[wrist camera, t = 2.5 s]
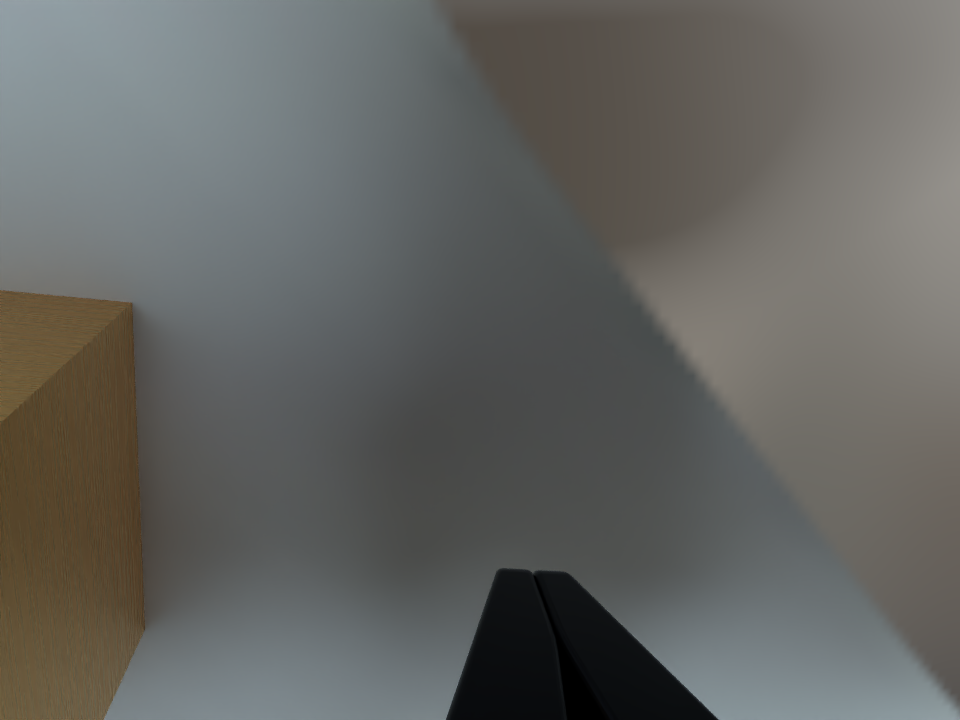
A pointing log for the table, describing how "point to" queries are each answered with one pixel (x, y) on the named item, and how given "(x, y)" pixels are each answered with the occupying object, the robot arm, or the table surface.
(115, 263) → the table surface
